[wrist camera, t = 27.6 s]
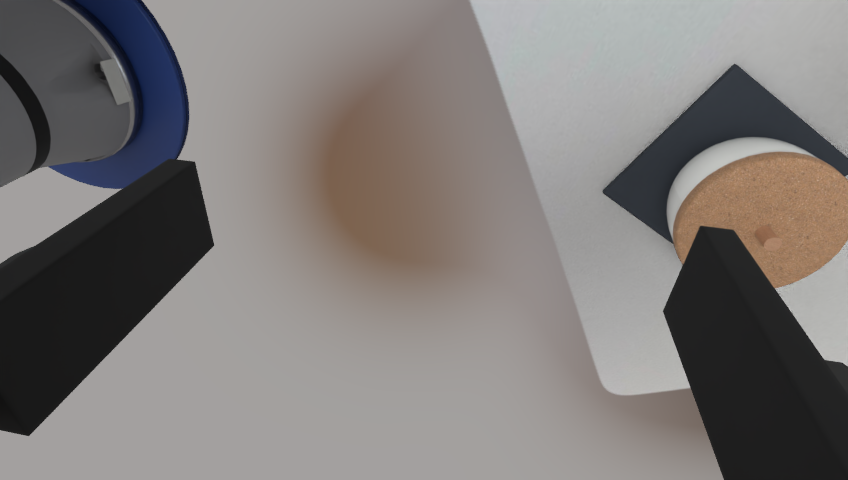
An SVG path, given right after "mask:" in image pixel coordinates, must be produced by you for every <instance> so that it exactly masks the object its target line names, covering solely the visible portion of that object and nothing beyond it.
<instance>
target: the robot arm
mask: <svg viewBox="0 0 848 480" xmlns="http://www.w3.org/2000/svg"><path fill="white" fill-rule="evenodd" d="M142 119H143V99H142V93H141V88H140V84H139V81H138V78H137V75H136V73H135V70H134V68H133V66H132V64H131V62H130V60H129V58H128V56H127V54H126V53H125V51H124V50H123V48H122V46H121V45H120V44H119V42H118V41H117V39H116V38H115V37H114V36H113V34H112V33H111V32H110V31H109V30H108V28H107V27H106V26H105V25H104V24H103V23H102V22H101V21H100V20H99V19H98V18H97V17H96V16H95V15H93V14H92V13H91V12H90V11H89V10H87V9H86V8H85V7H84V6H82V5H81V4H79V3H78V2H76V1H75V0H0V187H2V186H4V185H6V184H8V183H10V182H12V181H14V180H16V179H18V178H20V177H22V176H24V175H26V174H28V173H30V172H32V171H34V170H36V169H38V168H40V167H47V166H53V165H59V164H66V163H72V162H91V161H98V160H102V159H105V158H108V157H110V156H111V155H113V154H115V153H117V152H119V151H120V150H122V149H124V148H126V147H127V146H128V145H129V144H130V143H131V142H132V141H133V140H134V139H135V137H136V136H137V134H138V132H139V130H140V127H141V123H142ZM213 246H214V243H213V238H212V234H211V229H210V225H209V221H208V216H207V212H206V208H205V204H204V199H203V195H202V191H201V187H200V182H199V178H198V174H197V169H196V165H195V162H192V161H183V160H176V159H168V160H166V161H165V162H163V163H161V164H160V165H158V166H157V167H155V168H154V169H152V170H151V171H149V172H148V173H146V174H145V175H143V176H142V177H140V178H138V179H137V180H135V181H134V182H132V183H131V184H129V185H128V186H126V187H125V188H123V189H122V190H120V191H119V192H117V193H116V194H114V195H112V196H111V197H109V198H108V199H106V200H105V201H103V202H102V203H100V204H99V205H97V206H96V207H94V208H93V209H91V210H90V211H88V212H87V213H85V214H83V215H82V216H80V217H79V218H78V219H76V220H74V221H73V222H71V223H70V224H68V225H67V226H65V227H63V228H62V229H60V230H59V231H57V232H56V233H54V234H53V235H51V236H50V237H48V238H47V239H45V240H44V241H42V242H41V243H39V244H37V245H36V246H34V247H31V248H29V249H26V250H24V251H22V252H19V253H17V254H15V255H13V256H12V257H10V258H8V259H7V260H5V261H4V262H2V263H1V264H0V430H2V431H8V432H12V433H17V434H21V435H26V436H29V435H30V434H31V433H32V432H33V431H34V430H35V429H36V428H37V427H38V426H39V425H40V424H41V423H42V422H43V421H44V420H45V419H46V418H47V417H48V416H49V415H50V414H51V413H52V412H53V411H54V410H55V409H56V408H57V407H58V406H59V404H60V403H61V402H62V401H63V400H64V399H65V398H66V397H67V396H68V395H69V394H70V393H71V392H72V391H73V390H74V389H75V388H76V387H77V386H78V385H79V384H80V383H81V382H82V380H84V379H85V378H86V377H87V376H88V375H89V374H90V372H92V371H93V370H94V368H95V367H96V366H97V365H98V364H99V363H100V362H101V361H102V360H103V359H104V358H105V357H106V356H107V355H108V354H109V353H110V352H111V351H112V350H113V349H114V348H115V347H116V346H117V345H118V344H119V343H120V342H121V341H122V340H123V339H124V338H125V337H126V336H127V335H128V333H129V332H130V331H131V330H132V329H133V328H134V327H135V326H136V325H137V324H138V323H139V322H140V321H141V320H142V319H143V318H144V317H145V316H146V315H147V314H148V313H149V312H150V311H151V310H152V309H153V308H154V307H155V305H157V303H159V302H160V301H161V299H163V297H164V296H165V295H166V294H167V293H168V292H169V291H170V290H171V289H172V288H173V287H174V286H175V285H176V284H177V283H178V282H179V281H180V280H181V279H182V278H183V277H184V276H185V275H186V274H187V273H188V272H189V271H190V269H192V268H193V267H194V266H195V264H196V263H197V262H198V261H199V260H200V259H201V258H202V257H203V256H204V255H205V254H206V253H207V252H208V251H209V250H210V249H211V248H212V247H213ZM663 312H664V315H665V318H666V321H667V324H668V326H669V329H670V332H671V335H672V337H673V340H674V343H675V346H676V348H677V351H678V354H679V357H680V359H681V362H682V365H683V368H684V370H685V373H686V376H687V379H688V381H689V384H690V387H691V390H692V393H693V395H694V398H695V401H696V403H697V406H698V409H699V412H700V415H701V417H702V420H703V423H704V426H705V428H706V431H707V434H708V436H709V439H710V442H711V445H712V447H713V450H714V453H715V456H716V459H717V462H718V464H719V467H720V470H721V472H722V475H723V478H724V480H848V367H847V366H846V365H845V364H843V363H840V362H833V361H827V360H824V359H823V358H822V356H821V355H820V353H819V352H818V350H817V349H816V348H815V346H814V345H813V343H812V342H811V340H810V339H809V337H808V336H807V335H806V333H805V332H804V330H803V329H802V327H801V326H800V324H799V323H798V322H797V320H796V319H795V317H794V316H793V314H792V313H791V311H790V310H789V309H788V307H787V306H786V304H785V303H784V301H783V300H782V298H781V297H780V296H779V294H778V293H777V291H776V290H775V288H774V287H773V286H772V284H771V283H770V281H769V280H768V278H767V277H766V275H765V274H764V273H763V271H762V270H761V268H760V267H759V265H758V264H757V262H756V261H755V260H754V258H753V257H752V255H751V254H750V252H749V251H748V249H747V248H746V247H745V245H744V244H743V242H742V241H741V239H740V238H739V236H738V235H737V234H736V232H735V231H734V230H732V229H724V228H716V227H708V226H700V227H699V229H698V232H697V234H696V236H695V239H694V241H693V243H692V246H691V248H690V250H689V252H688V255H687V257H686V259H685V262H684V264H683V266H682V269H681V271H680V273H679V276H678V278H677V280H676V282H675V285H674V287H673V289H672V292H671V294H670V296H669V299H668V301H667V303H666V306H665V308H664V310H663Z"/></svg>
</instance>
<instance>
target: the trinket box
mask: <svg viewBox="0 0 848 480" xmlns="http://www.w3.org/2000/svg"><path fill="white" fill-rule="evenodd" d="M667 222H668V227H669V231H670V234H671V237H672V240H673V243H674V247H675V250H676V253H677V255H678V257H679V259H680V261H681V263H682V264H684V262H685V259H686V257H687V255H688V252H689V250H690V248H691V246H692V243H693V241H694V239H695V236H696V234H697V232H698V229H699V227H700V226H708V227H716V228H724V229H732V230H734V231H735V232H736V234H737V235H738V236H739V238H740V239H741V241H742V242H743V244H744V245H745V247H746V248H747V249H748V251H749V252H750V254H751V255H752V257H753V258H754V260H755V261H756V262H757V264H758V265H759V267H760V268H761V270H762V271H763V273H764V274H765V275H766V277H767V278H768V280H769V281H770V283H771V284H772V286H773V287H774V288H778V287H782V286H785V285H788V284H791V283H794V282H796V281H798V280H800V279H802V278H804V277H807V276H808V275H810V274H812V273H813V272H815V271H817V270H818V269H820V268H821V267H822V266H824V265H825V264H826V263H827V262H829V261H830V260H831V259H832V258H833V257H834V256H835V255H836V254H837V253H838V252H839V251H840V250H841V248H842V247H843V246H844V244H845V243H846V241H847V240H848V180H847V179H846V178H845V177H844V176H843V175H842V174H841V173H840V172H839V171H838V170H836V169H835V168H834V167H833V166H831V165H829V164H827V163H826V162H824V161H822V160H821V159H818V158H817V157H815V156H814V155H812V154H811V153H809V152H807V151H806V150H804V149H802V148H800V147H797V146H795V145H793V144H790V143H787V142H784V141H781V140H777V139H771V138H766V137H744V138H736V139H731V140H727V141H724V142H721V143H718V144H715V145H713V146H711V147H709V148H707V149H705V150H704V151H702V152H701V153H699V154H698V155H696V156H695V157H694V158H692V159H691V160H690V161H689V162H688V163H687V164H686V165H685V166H684V167H683V168H682V169H681V170H680V172H679V173H678V175H677V176H676V178H675V180H674V182H673V184H672V186H671V189H670V192H669V195H668V199H667Z"/></svg>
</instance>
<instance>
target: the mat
mask: <svg viewBox="0 0 848 480" xmlns="http://www.w3.org/2000/svg"><path fill="white" fill-rule="evenodd" d="M744 137H766V138H771V139H777V140H781V141H784V142H787V143H790V144H793V145H795V146H797V147H800V148H802V149H804V150H806V151H807V152H809V153H811V154H812V155H814V156H815V157H817V158H818V159H821V160H822V161H824V162H826V163H827V164H829V165H831V166H833V167H834V168H835V169H836V170H838V171H839V172H840V173H841V174H842V175H843V176H844V177H845V176H847V175H848V158H847V157H846V156H844V155H843V154H842V153H841V152H840V151H838V150H837V149H836V148H835V147H834V146H833V145H831V144H830V143H829V142H828V141H827V140H825V139H824V138H823V137H822V136H821V135H819V134H818V133H817V132H816V131H815V130H814V129H812V128H811V127H810V126H809V125H808V124H806V123H805V122H804V121H803V120H802V119H800V118H799V117H798V116H797V115H796V114H794V113H793V112H792V111H791V110H790V109H789V108H787V107H786V106H785V105H784V104H783V103H781V102H780V101H779V100H778V99H777V98H775V97H774V96H773V95H772V94H771V93H770V92H768V91H767V90H766V89H765V88H764V87H762V86H761V85H760V84H759V83H758V82H756V81H755V80H754V79H753V78H752V77H750V76H749V75H748V74H747V73H746V72H745V71H743V70H742V69H741V68H740V67H739V66H737V65H736V64H734V65H733V66H732V67H731V68H730V69H729V70H728V71H727V72H726V73H725V74H723V75H722V76H721V77H720V78H719V79H718V80H717V81H716V82H715V83H714V84H713V85H712V86H711V87H710V88H709V89H708V90H707V91H706V92H705V93H704V94H703V95H702V96H701V97H700V98H699V99H697V100H696V101H695V102H694V103H693V104H692V105H691V106H690V107H689V108H688V109H687V110H686V111H685V112H684V113H683V114H682V115H681V116H680V117H679V118H678V119H677V120H676V121H675V122H674V123H673V124H671V125H670V126H669V127H668V128H667V129H666V130H665V131H664V132H663V133H662V134H661V135H660V136H659V137H658V138H657V139H656V140H655V141H654V142H653V143H652V144H651V145H650V146H649V147H648V148H646V149H645V150H644V151H643V152H642V153H641V154H640V155H639V156H638V157H637V158H636V159H635V160H634V161H633V162H632V163H631V164H630V165H629V166H628V167H627V168H626V169H625V170H624V171H623V172H622V173H620V174H619V175H618V176H617V177H616V178H615V179H614V180H613V181H612V182H611V183H610V184H609V185H608V186H607V187H606V188H605V189H604V190H603V193H604V194H605V195H606V196H608V197H609V198H611V199H612V200H613V201H615V202H616V203H618V204H619V205H620V206H622V207H623V208H624V209H626V210H627V211H629V212H630V213H631V214H633V215H634V216H635V217H637V218H638V219H640V220H641V221H642V222H644V223H645V224H646V225H648V226H649V227H651V228H652V229H653V230H655V231H656V232H657V233H659V234H660V235H662V236H663V237H664V238H666V239H667V240H669V241H670V242H671V243H673V240H672V237H671V234H670V231H669V227H668V222H667V199H668V195H669V192H670V189H671V186H672V184H673V182H674V180H675V178H676V176H677V175H678V173H679V172H680V170H681V169H682V168H683V167H684V166H685V165H686V164H687V163H688V162H689V161H690V160H691V159H692V158H694V157H695V156H696V155H698V154H699V153H701V152H702V151H704V150H705V149H707V148H709V147H711V146H713V145H715V144H718V143H721V142H724V141H727V140H731V139H736V138H744ZM673 244H674V243H673Z"/></svg>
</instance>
